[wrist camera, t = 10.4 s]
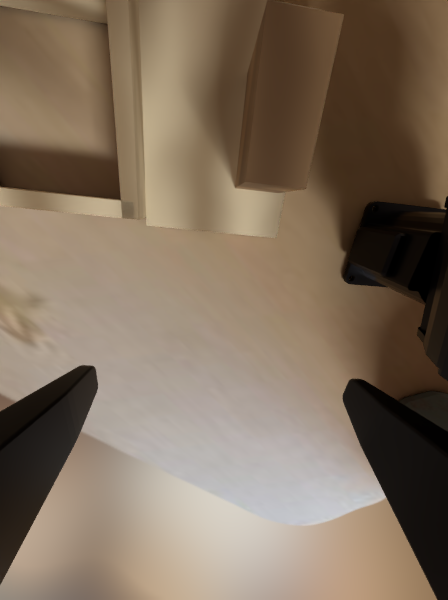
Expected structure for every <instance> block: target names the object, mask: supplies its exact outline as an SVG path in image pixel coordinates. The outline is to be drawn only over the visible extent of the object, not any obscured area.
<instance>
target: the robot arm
mask: <svg viewBox="0 0 448 600" xmlns="http://www.w3.org/2000/svg"><path fill="white" fill-rule="evenodd" d="M373 206H375V210H374V211H372V208H373ZM444 207H445V208H447V209H446V210H445V209H437V208H428V207H420V206H411V205H403V204H394V203H386V202H371V203H369V204H368V205H367V207H366V209H365V212H364V215H363V218H362V221H361V224H360V228H359V229H358V231H357V234H356V237H355V240H354V243H353V246H352V249H351V252H350V255H349V259H348V260H349V261H348V265H347V268H346V271H345V274H344V277H343V279H344V281H345V282H346V283H348V284H355V285H367V286H379V287H389V288H391V289H393V290H395V291H397V292H399V293H401V294H404V295H406V296H408V297H410V298H412V299H414V300H416V301H418V302H420V303H422V304H425V309H424V314H423V318H422V323H421V327H419V328H418V332H417V336H418V337H419V338H420V340H421V341H422V342H423V345H424V349H425V353H426V355H427V356H428V357H429V358H430V359H431V361H432V362H433V363H434V364H435V365H436V366H437V367H438V368H439V369H438V374H439V375H440V376H442V377H443V378H444V379H446V380H447V381H448V196H447V197H446V202H445V206H444ZM350 276H352V278H351V279H350V280H349V277H350ZM97 389H98V382H97V375H96V369H95V367H94V366H87V365H81V366H79V367H77V368H75V369H73V370H72V371H70V372H68V373H66V374H65V375H63V376H61V377H59V378H58V379H56V380H54V381H52V382H51V383H49V384H47V385H46V386H44V387H42V388H40V389H39V390H37V391H35V392H33V393H32V394H30V395H28V396H26V397H25V398H23V399H21V400H19V401H18V402H16V403H14V404H12V405H11V406H9V407H7V408H6V409H4V410H2V411H0V584H1V583H2V581H3V579H4V577H5V575H6V573H7V571H8V569H9V567H10V566H11V563H12V562H13V560H14V558H15V556H16V554H17V552H18V550H19V548H20V546H21V545H22V543H23V541H24V539H25V537H26V535H27V533H28V532H29V530H30V527H31V526H32V524H33V522H34V520H35V518H36V516H37V515H38V513H39V511H40V509H41V507H42V505H43V503H44V501H45V499H46V498H47V495H48V494H49V492H50V490H51V488H52V486H53V484H54V482H55V480H56V479H57V477H58V475H59V473H60V471H61V469H62V467H63V465H64V464H65V462H66V460H67V458H68V456H69V454H70V452H71V450H72V448H73V447H74V444H75V443H76V440H77V438H78V436H79V434H80V432H81V429H82V427H83V424H84V422H85V419H86V417H87V415H88V412H89V410H90V407H91V405H92V402H93V400H94V398H95V395H96V393H97ZM343 402H344V405H345V408H346V410H347V413H348V415H349V418H350V420H351V423H352V425H353V428H354V430H355V433H356V435H357V438H358V440H359V443H360V445H361V447H362V449H363V451H364V453H365V455H366V457H367V459H368V461H369V463H370V465H371V467H372V469H373V471H374V473H375V475H376V477H377V479H378V481H379V483H380V485H381V487H382V489H383V491H384V494H385V496H386V498H387V500H388V501H389V504H390V505H391V507H392V510H393V512H394V514H395V516H396V517H397V519H398V522H399V524H400V525H401V528H402V530H403V532H404V534H405V536H406V538H407V540H408V542H409V544H410V546H411V548H412V549H413V552H414V554H415V556H416V558H417V560H418V562H419V564H420V566H421V568H422V570H423V572H424V574H425V575H426V578H427V580H428V582H429V584H430V586H431V588H432V590H433V592H434V594H435V596H436V598H437V600H448V431H446V430H444V429H443V428H441V427H439V426H438V425H436V424H435V423H433V422H431V421H430V420H428V419H426V418H425V417H423V416H421V415H420V414H418V413H417V412H415V411H413V410H412V409H410V408H408V407H407V406H405V405H404V404H402V403H400V402H399V401H397V400H395V399H394V398H392V397H391V396H389V395H387V394H386V393H384V392H382V391H381V390H379V389H378V388H376V387H374V386H373V385H371V384H369V383H368V382H366V381H365V380H362V379H350V380H349V382H348V384H347V386H346V389H345V391H344V393H343Z"/></svg>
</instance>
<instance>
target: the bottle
mask: <svg viewBox="0 0 448 600" xmlns="http://www.w3.org/2000/svg"><path fill="white" fill-rule="evenodd" d="M399 402H400V403H402V404H404V405H405V406H407V407H408V408H410V409H412V410H413V411H415V412H417V413H418V414H420V415H421V416H423V417H425V418H426V419H428V420H430V421H431V422H433V423H435V424H436V425H438V426H439V427H441V428H443V429H444V430H446V431H448V394H446V393H442V392H434V391H429V392H425V393H421V394H417V395H414V396H410V397H406V398H404V399H402V400H400V401H399Z"/></svg>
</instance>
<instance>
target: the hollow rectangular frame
mask: <svg viewBox="0 0 448 600" xmlns="http://www.w3.org/2000/svg"><path fill="white" fill-rule="evenodd" d="M0 6H5V7H11V8H17V9H23V10H29V11H34V12H40V13H46V14H52V15H58V16H64V17H69V18H75V19H81V20H87V21H93V22H99V23H105V24H108V35H109V48H110V61H111V75H112V88H113V102H114V115H115V128H116V142H117V155H118V168H119V182H120V195H121V199H111V198H102V197H93V196H83V195H74V194H65V193H55V192H46V191H36V190H27V189H18V188H8V187H1V186H0V206H6V207H16V208H26V209H36V210H46V211H56V212H66V213H76V214H86V215H96V216H107V217H117V218H127V219H137V220H140V219H144V218H146V222H147V226H157V227H168V228H178V229H188V230H198V231H208V232H219V233H229V234H239V235H249V236H259V237H270V238H277V234H278V229H279V223H280V218H281V213H282V207H283V202H284V197H285V192H289V191H295V190H302V189H306V186H307V182H308V177H309V173H310V168H311V164H312V159H313V155H314V150H315V145H316V141H317V136H318V132H319V127H320V123H321V118H322V114H323V109H324V105H325V100H326V95H327V91H328V86H329V82H330V77H331V73H332V68H333V64H334V59H335V54H336V50H337V45H338V41H339V36H340V32H341V27H342V23H343V18H344V14H340V13H335V12H329V11H324V10H320V9H315V8H310V7H305V6H300V5H294V4H289V3H284V2H279V1H274V0H0Z"/></svg>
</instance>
